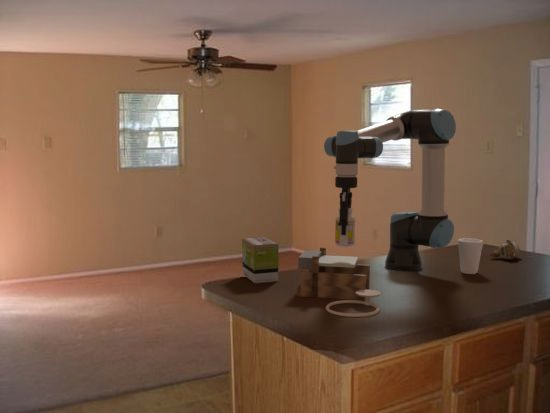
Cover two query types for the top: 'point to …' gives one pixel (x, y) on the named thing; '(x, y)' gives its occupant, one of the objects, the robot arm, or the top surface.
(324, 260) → the trapdoor
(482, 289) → the top surface
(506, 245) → the ceramic sculpture
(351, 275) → the frame
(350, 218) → the supplement bottle
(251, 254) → the tea box
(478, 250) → the foam cup
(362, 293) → the hand towel holder
